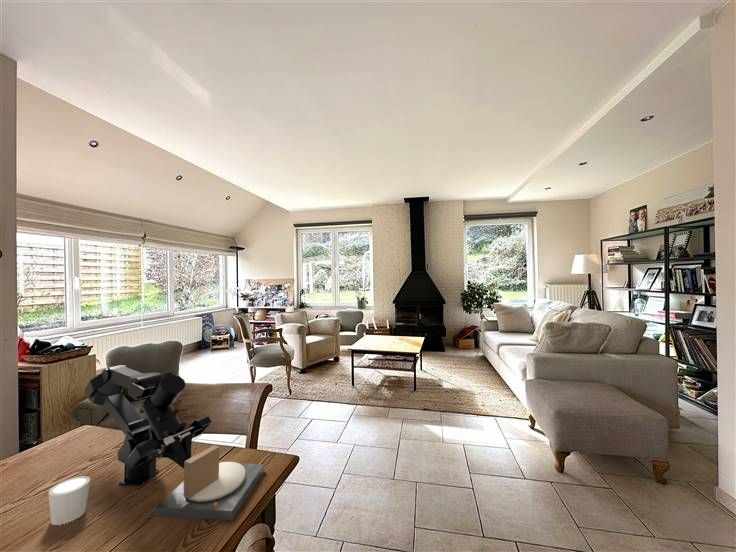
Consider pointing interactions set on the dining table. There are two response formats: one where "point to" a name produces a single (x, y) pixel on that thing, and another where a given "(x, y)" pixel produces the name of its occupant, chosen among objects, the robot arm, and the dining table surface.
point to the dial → (210, 476)
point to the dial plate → (215, 508)
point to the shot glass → (68, 500)
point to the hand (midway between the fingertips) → (188, 468)
